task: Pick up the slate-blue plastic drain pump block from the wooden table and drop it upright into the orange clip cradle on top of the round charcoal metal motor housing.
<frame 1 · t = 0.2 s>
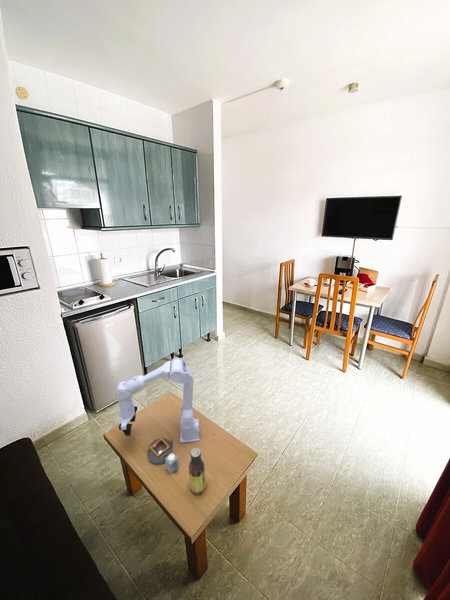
hand: (130, 428, 116), 10 cm above the table, fingers open, 7 cm apart
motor: (160, 453, 114), on the table
sauce bottle: (197, 487, 101), on the table
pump: (172, 467, 108), on the table
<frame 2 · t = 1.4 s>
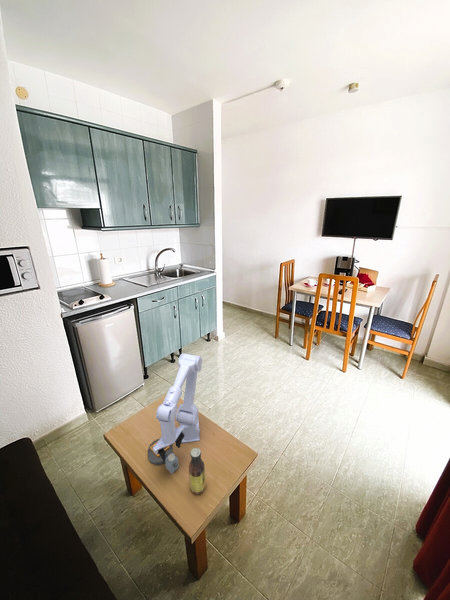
hand: (170, 452, 105), 9 cm above the table, fingers open, 7 cm apart
nothing on the table moved.
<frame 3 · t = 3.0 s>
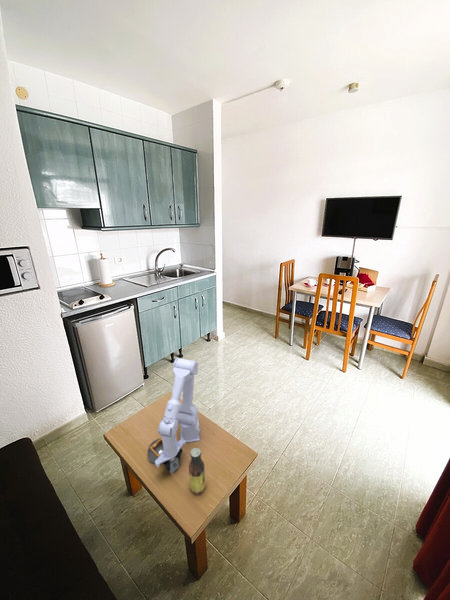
hand: (172, 465, 108), 1 cm above the table, fingers closed on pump, 4 cm apart
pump: (172, 467, 108), on the table, touching gripper
everything else where it was.
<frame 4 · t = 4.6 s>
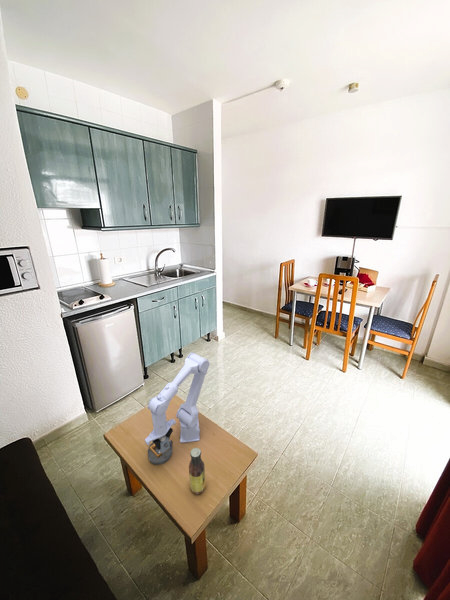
hand: (162, 444, 109), 8 cm above the table, fingers closed on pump, 4 cm apart
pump: (163, 447, 110), point 7 cm above the table, touching gripper
everything else where it was.
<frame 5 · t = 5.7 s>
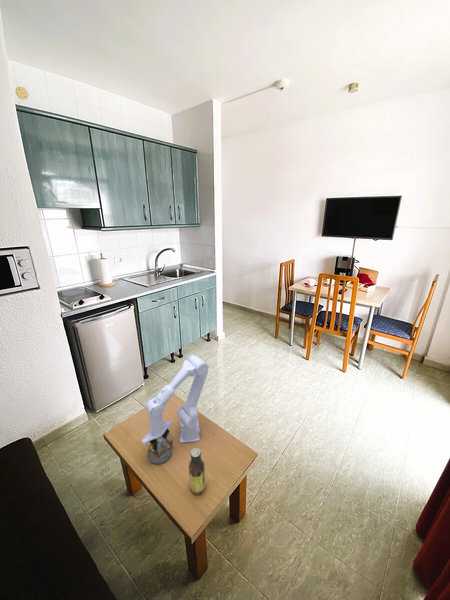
hand: (159, 445, 112), 5 cm above the table, fingers closed on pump, 4 cm apart
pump: (160, 448, 113), point 4 cm above the table, touching gripper
everything else where it was.
when the fingers open (5 cm above the table, at t = 6.3 s): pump stays where it is, resting on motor.
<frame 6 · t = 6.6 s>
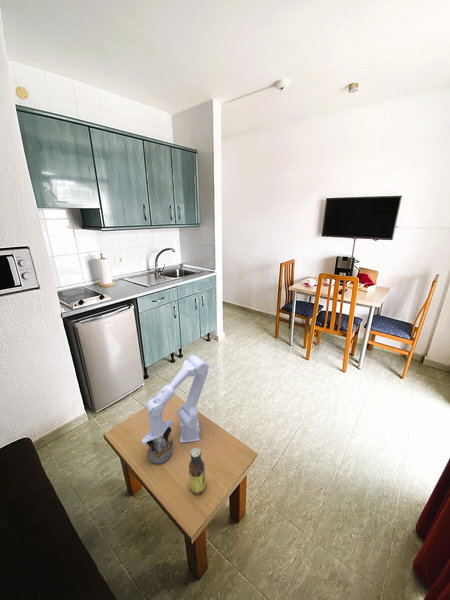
hand: (159, 445, 112), 5 cm above the table, fingers open, 6 cm apart
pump: (160, 449, 113), point 3 cm above the table, touching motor
everything else where it was.
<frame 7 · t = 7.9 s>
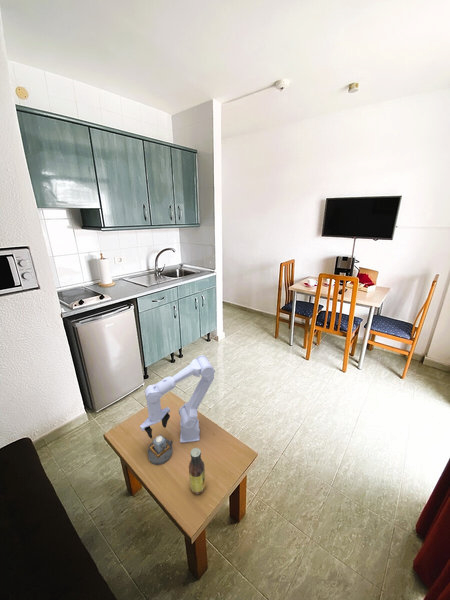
hand: (157, 431, 115), 9 cm above the table, fingers open, 7 cm apart
nothing on the table moved.
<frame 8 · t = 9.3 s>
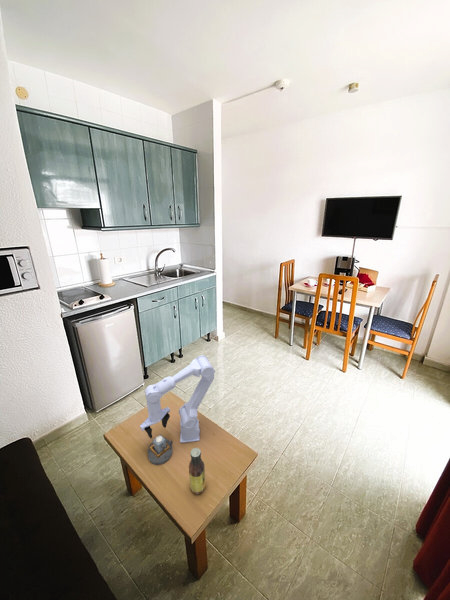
hand: (157, 431, 115), 9 cm above the table, fingers open, 7 cm apart
nothing on the table moved.
at the end: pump 0.4 cm off-centre on the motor, point 3.0 cm above the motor's base; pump tilted 0°; the gripper is holding nothing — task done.
